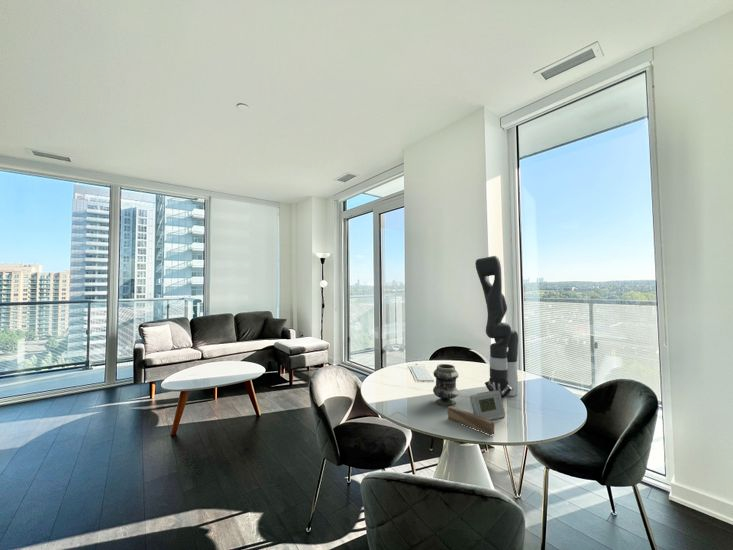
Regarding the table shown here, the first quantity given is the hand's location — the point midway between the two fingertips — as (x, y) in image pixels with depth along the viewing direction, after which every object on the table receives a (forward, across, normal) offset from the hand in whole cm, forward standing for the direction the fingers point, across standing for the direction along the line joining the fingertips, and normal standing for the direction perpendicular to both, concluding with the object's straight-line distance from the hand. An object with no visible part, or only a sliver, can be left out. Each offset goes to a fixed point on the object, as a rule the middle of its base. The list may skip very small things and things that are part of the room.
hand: (498, 405), depth 147 cm
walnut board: (+3, 0, +22) cm, 22 cm away
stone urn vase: (+3, +22, +9) cm, 24 cm away
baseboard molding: (+4, +63, -17) cm, 65 cm away
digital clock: (+4, 0, +9) cm, 10 cm away
